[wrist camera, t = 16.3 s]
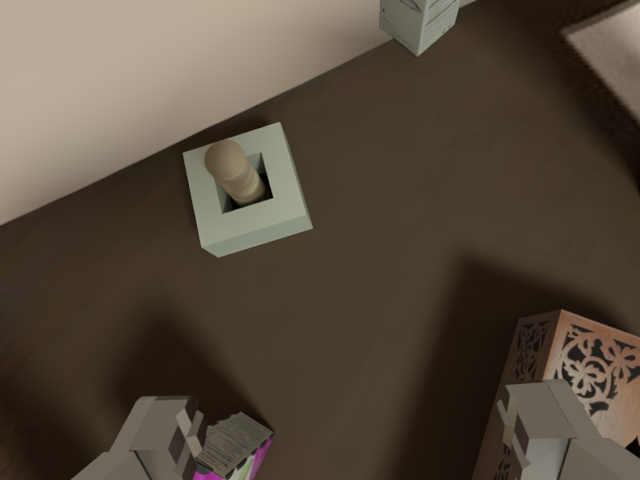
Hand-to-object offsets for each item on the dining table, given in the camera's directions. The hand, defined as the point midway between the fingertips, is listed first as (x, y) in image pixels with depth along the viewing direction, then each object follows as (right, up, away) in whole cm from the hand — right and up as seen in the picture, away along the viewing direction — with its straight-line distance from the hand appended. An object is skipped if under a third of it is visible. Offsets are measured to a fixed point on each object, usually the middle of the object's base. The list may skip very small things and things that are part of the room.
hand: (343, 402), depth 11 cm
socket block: (-9, +10, +39) cm, 41 cm away
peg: (-9, +10, +39) cm, 41 cm away
